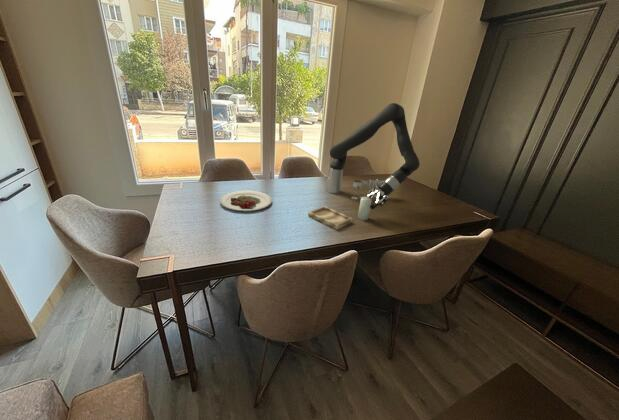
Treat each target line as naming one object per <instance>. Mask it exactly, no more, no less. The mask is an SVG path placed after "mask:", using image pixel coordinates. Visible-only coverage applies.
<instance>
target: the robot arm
mask: <svg viewBox="0 0 619 420" xmlns="http://www.w3.org/2000/svg"><path fill="white" fill-rule="evenodd" d="M390 122H392V124H393V126H394V128H395V131H396V143H397V146H398V149H399V150H398V151H399V152H400V156H401V157H403V159H404V163H403V164H402V165H401V166H400V167H399V168H398V169H397V170H395V171H394V172H393V173H392V174H391V175H390V176H388V177H387V178H386V179H384V180H385V181H384V182H383V183H381V184H380V185H379V188H378V189H377V188H376V186H373V188H372V189H371V190H370V189H369V191H368V192H366V196H367V197H369V198H371V199H376V201H375V202H374V203H372V204H371V206H370V210H374V209H376V208H377V207H378V206H380V207H382V206H384V205H385V203H386V202H387V201H388V200H389V197H388V196H390V194H392V192H394V191H395V190H396V189H397V188H398V187H399V186H400V185H401V184H403V182H405V180H406V179H407V178H408V177H410V175H412V174H413V173H414V172H416V171H417V170H418V169H419V168H420V159H419V157H418V155H417V153H416V151H415V150H414V146H413V144H412V141H411V138H410V134H409V130H408V127H407V121H406V112H405V109H404V107H403V106H402V105H400V104H399V103H394V102H392V103H390V104H387V105H386V106H384V108H383V109H382V110H381V111H379V112H378V113H377V114H376V115H375V116H374V117H372V118H371V119H369V120H368V121H366V123H364V124H363V125H361V126H359V127H358V128H357V129H355V130H354V131H353V132H351V133H350V134H349V135H348V136H347V137H346V138H344V139H343V140H341V141H340V142H337V144H333V146H332V147H330V150H329V156H330V157H331V158H332V162H330V166H329V173H328V177H327V180H326V186H325V191H327V192H328V193H330V194H339V193H341V187H342V180H343V179H342V178H343V174H344V167H345V165H346V161H347V155H348V151H350V150H352V149H354V148H356V147H358V146H360V145H362V144H364V143H366V142H367V141H368V140H370V139H371V138H373V137H374V136H375V135H376V133H377V132H378V131H379V129H381V127H383V126H384V125H386V124H388V123H390Z"/></svg>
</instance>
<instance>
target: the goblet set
mask: <svg viewBox="0 0 619 420" xmlns="http://www.w3.org/2000/svg"><path fill="white" fill-rule="evenodd" d="M385 180H386V179H383V178H379V177H378V178H376V179H375V178H369V182H368V179H366V178H363V179H362V180H359V179H358V180H355V179H354V181H353V182H352V188H353V189H354V192H355V193H354V196H351V199H352V200H358V199H361V197H364V196H363V195H364V191H365V189H366V187H367V185H369V191H370V190H371V189H372V188H374V187H375V189H378V188H379V185H380V184H381V183H383V182H384V181H385ZM361 188H362V195H361V196H359V197H357V196H356V194H357V191H358V190H359V189H361ZM365 197H367V195H366V196H365Z"/></svg>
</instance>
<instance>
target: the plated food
mask: <svg viewBox="0 0 619 420" xmlns="http://www.w3.org/2000/svg"><path fill="white" fill-rule="evenodd" d="M219 202H220V205H222V206H223V207H224V208H226V209H228V210H229V209H230V210H233V211H240V212H250V211H251V212H252V211H258V210H262V209H265V208H266V207H269V206H270V205H271V204H272V202H273V199H272V197H271V196H270V195H269V194H267V193H264V192H261V191H256V190H236V191H232V192H229V193H225V194H224V195H223V196H221V198H220V200H219Z"/></svg>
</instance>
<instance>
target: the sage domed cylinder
mask: <svg viewBox="0 0 619 420" xmlns="http://www.w3.org/2000/svg"><path fill="white" fill-rule="evenodd" d="M360 197H361V198H360V201H359V207H358V213H357V219H358V220H361V221H368V220H369V216H370V211H371V208H370V206H371V205H372V201H373V198H369V197H366V196H360Z"/></svg>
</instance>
